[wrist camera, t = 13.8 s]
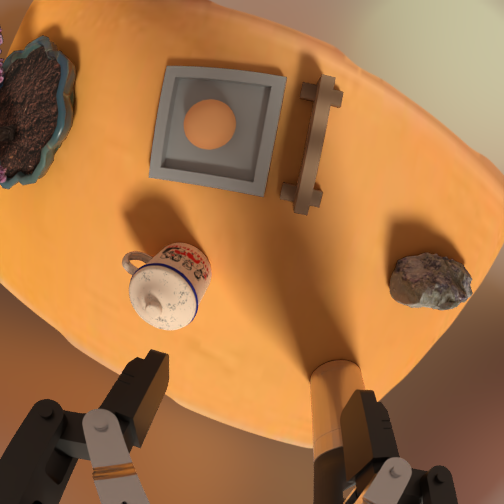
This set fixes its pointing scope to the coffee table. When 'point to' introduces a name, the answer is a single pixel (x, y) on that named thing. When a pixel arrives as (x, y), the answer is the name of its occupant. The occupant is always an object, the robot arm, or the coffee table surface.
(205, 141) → the ball
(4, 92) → the bonsai tree
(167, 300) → the teacup with lid
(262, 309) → the coffee table surface
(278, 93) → the tray
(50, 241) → the coffee table surface
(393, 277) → the mineral rock
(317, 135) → the fence
